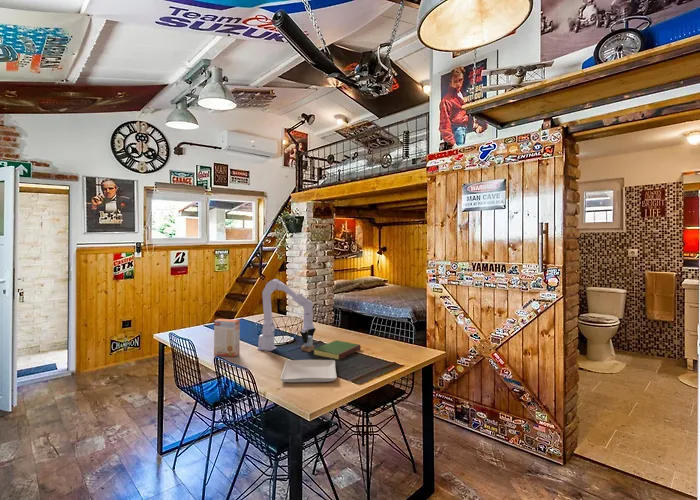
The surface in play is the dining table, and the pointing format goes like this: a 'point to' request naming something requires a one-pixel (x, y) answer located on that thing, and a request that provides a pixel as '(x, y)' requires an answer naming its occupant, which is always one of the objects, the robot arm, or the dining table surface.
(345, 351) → the hardcover book
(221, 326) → the cracker box
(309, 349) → the walnut base block
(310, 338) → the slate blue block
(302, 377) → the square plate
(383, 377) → the dining table surface
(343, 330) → the dining table surface
